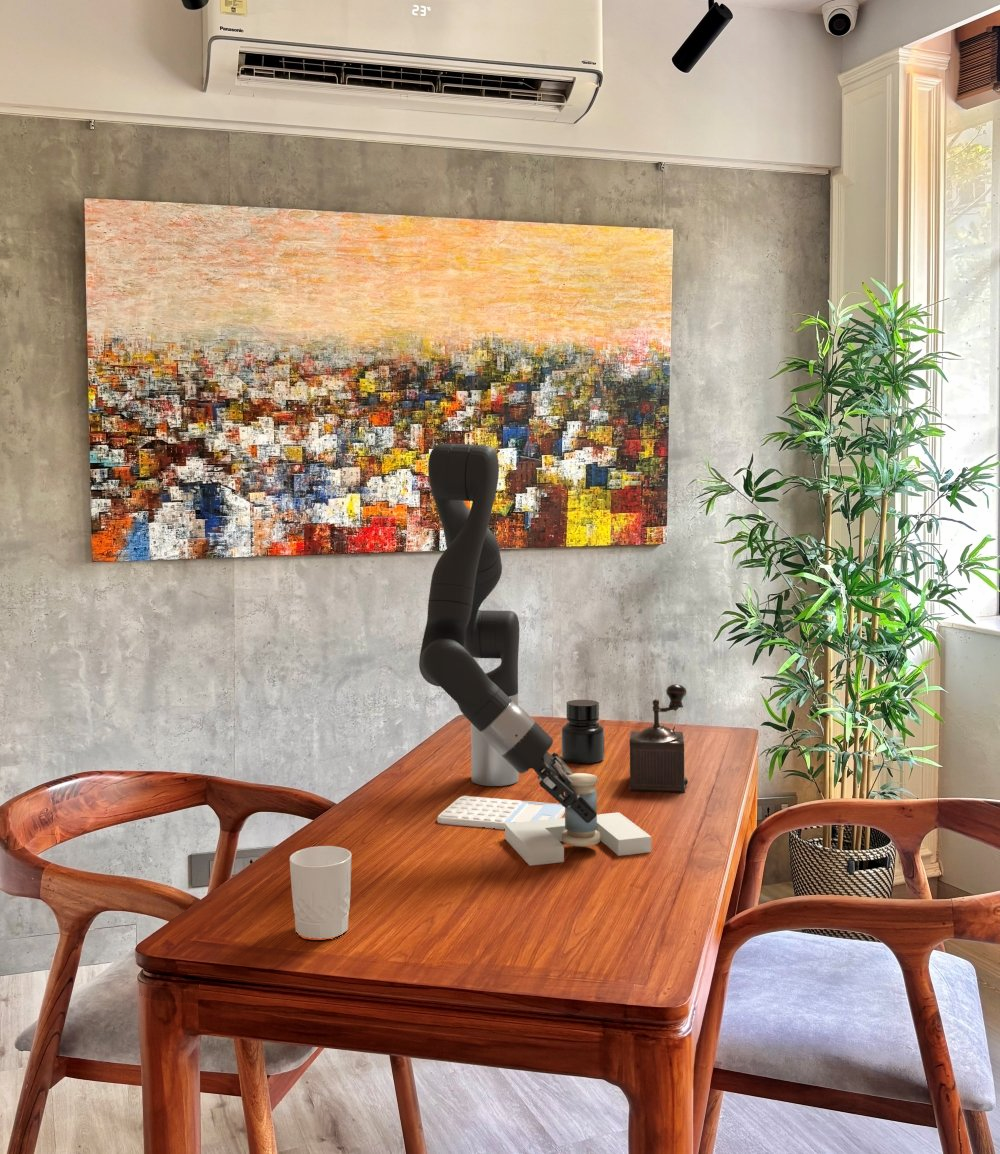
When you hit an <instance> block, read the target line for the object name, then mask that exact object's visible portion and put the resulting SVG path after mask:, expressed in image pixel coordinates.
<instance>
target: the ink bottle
mask: <svg viewBox="0 0 1000 1154" xmlns="http://www.w3.org/2000/svg"><path fill="white" fill-rule="evenodd" d="M599 720H600V702H599V701H597V700H592V699H572V700H568V701H566V721H567V722H566V723H565V724H564V725H563V726H562V727H561V732H560V733H561V734H560V735H561V736H560V737H561V744H560V745H561V747H560V748H561V751H560V752H561V759H562V760H563V761H564V762H567V761H568V762H569V763H572V762H573V764H580V763H583V765H585V764H586V765H587V764H595V762H596V763H599V762H601V761H602V760H604V758H605V729H604V727H603V726H602V725H601V724H600V722H598V721H599Z"/></svg>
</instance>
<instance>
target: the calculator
mask: <svg viewBox="0 0 1000 1154" xmlns="http://www.w3.org/2000/svg"><path fill="white" fill-rule="evenodd" d="M564 813H565V807H563V806H562V804H560V803H554V802H553V803H552V802H540V801H531V800H529V801H528V800H518V799H509V798H506V799H504V798H494V797H492V798H491V797H482V796H468V795H461V796H460V797H458V798H457V799H455V800H454V801H453V802H452V803H451V804H450V805H449V806H447V807H446V808H445V809H444V810H443V811H441V812H440V813H439V814H438V815H437V818H436V819H437V820H436V821H437V823H438V824H442V825H451V826H460V827H461V826H463V827H472V828H473V827H474V828H482V827H485V828H484V829H493V828H495V829H496V830H504V829H505V824H507V823H517V822H527V821H537V820H548V819H558V818H563V816H565V814H564ZM495 829H494V830H495Z"/></svg>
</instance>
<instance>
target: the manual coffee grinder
mask: <svg viewBox="0 0 1000 1154" xmlns="http://www.w3.org/2000/svg"><path fill="white" fill-rule="evenodd" d="M665 691H666V692H665V693H666V695H667V696H668V698H669V700H670V702H669V704H668V707H660V700H659V699H656V698H655V699H653V701H652V705H653V706H652V712H653V725H652V726H648V727H647V728H644V729H642V730H639V731H638V730H637V731H636V730H634V731H632V730H631V731H630V733H629V734H630V735H629V791H630V792H638V793H639V792H640V793H641V792H642V793H671V794H673V793H675V794H676V793H677V794H678V793H679V794H680V793H681V794H682V793H683V794H685V793H686V787H687V785H688V783H689V782H688V780H689V779H688V778H687V777H685V775H686V774H685V773H686V772H685V771H686V770H685V736H684V734H683V731H675V729H676V726H673V728H669V727H667V726H665V725H660V717H659V716H660V713H667V712H670V711H674V712H677V710H678V709H679V708H680V709H682V708H684V705H683V702H682V701H683V699H684V698H685V697H686V694H687V689H686V688H685V687H684V686H683V685H682V684H671V685H669V686H668V687H667V688H666V690H665Z"/></svg>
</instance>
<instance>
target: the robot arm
mask: <svg viewBox="0 0 1000 1154" xmlns="http://www.w3.org/2000/svg"><path fill="white" fill-rule="evenodd" d="M428 457H429V458H428V463H427V464H428V465H427V466H428V467H427V471H428V472H427V473H428V479H429V486H430V487H429V488H430V489H431V493H432V498H433V500H434V504H435V506H436V510H437V512H438V515H439V519H440V521H441V522H440V523H441V526H442V529H443V531H442V532H443V535H444V540H445V546H446V548H445V550H444V551H443V552H442V554H441V555H440V557H439V558H438V560H437V562H436V564H435V565H434V568H433V571H432V576H431V580H430V587H429V597H428V603H427V618H426V623H425V629H424V631H423V632H424V633H423V637H422V643H421V647H420V654H419V660H418V666H419V667H418V668H419V672H420V674H421V676H422V678H423V679H424V680H425V681H426V682H427V683H429V684H430V685H431V686H432V685H433V686H435V687H440V688H441V689H443V691H444V692H445V693H447V695H449V697H451V699H453V700H454V701H455V702H456V704H457V706H458V709H459V710H460V713H462V715H463V716H464V717H465V718H466V720H468V721H469V722H470V737H471V738H470V746H471V747H470V749H471V750H470V752H471V753H470V755H471V757H470V763H471V764H470V765H471V767H470V769H471V770H470V771H471V772H470V773H471V778H470V779H471V782H472V783H474V784H476V785H480V786H483V787H484V786H485V787H503V786H509V785H513V784H516V783H518V781H519V779H520V778H519V776H520V775H521V774H525V773H527V772H528V771H529V770H531V769H533V771H534V772H535V773H536V774H537V778H536V779H537V780H538V781H539V786H540V787H541V788H542V789H544V790H545V792H547V793H548V794H549V795H550V796H551V797H552V798H554V799H555V800H556V801H557V802H559V803H558V804H562V806H563V807H565V808H567V807H569V808H570V807H571V808H572V809H573V810H574V811H575V812H576V813H577V814H578V815H579V816H580V817H581V818H582V819H583V820H584V821H585V822H586V823H590V822H591V821H592V820H593V819H594V818H595V817H596V815H598V812H597V813H596V811H595V810H594V809H593V808H592V807H591V806H590V805H589V804H588V803H587V802H586V801H585V800H584V799H583V798H582V797H581V796H580V794H579V793H578V792H577V791H576V790H575V789H574V787H573V786H572V780H571V779H570V778H569V777H568V776H567V775H569V774H575V772H574V771H573V770H572V769H571V768H570V766H568V764H566V761H565V760H563V759H562V757H560V756H559V754H558V753H556V752H555V751H554V752H553V753H552V754H551V753H549V750H550V749H551V748H552V745H553V743H554V739H553V738H552V737H551V736H550V734H548V732H546V731H545V730H544V729H543V728H542V727H541V726H540V724H538V723H537V722H536V720H535V719H533V718H532V716H530V715H529V713H528V712H527V711H525V710H524V709H523V708H522V707H521V706H519V650H520V647H519V646H520V620H519V617H518V615H517V613H516V612H515V611H512V610H489V609H488V610H484V609H483V610H482V609H481V610H480V607H481V606H482V604H483V602H484V601H485V600H486V599H487V597H489V595H490V594H491V593H492V592H493V591H494V589H495V588H496V586H497V585H498V583H499V581H500V579H501V576H502V572H503V565H502V563H503V562H502V557H501V551H500V546H499V542H498V539H497V537H496V536H495V534H494V533H493V532H492V531H491V530H490V529H491V528H489V524H490V519H491V514H492V511H493V506H494V502H495V500H496V499H495V498H496V493H497V488H498V483H499V477H500V476H499V474H500V473H499V472H500V466H499V457H498V454H497V451H496V450H495V448H494V447H492V446H490V445H484V444H469V443H468V444H467V443H441V444H438V445H435V446H434V447H433V448H432V449H431V451H430V453H429V456H428ZM467 501H468V502H472V503H471V507H470V509H469V507H468V506H467V504H466V503H465V502H467ZM476 659H500V661H501V662H500V665H499V666H497V667H496V668H494V669H493V670H491V671H488V672H485V671H484V670H483V668H482V667H481V665H480V664H479V663H478V662H477V660H476ZM565 791H566V792H567V793H568V794H569V795H568V796H567V797H565Z"/></svg>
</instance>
